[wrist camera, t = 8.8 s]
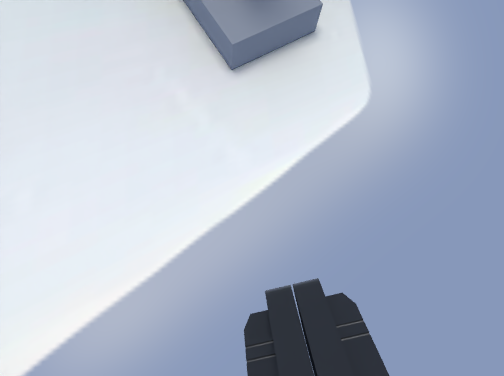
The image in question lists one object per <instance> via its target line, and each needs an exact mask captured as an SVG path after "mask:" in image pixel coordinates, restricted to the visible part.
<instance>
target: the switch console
mask: <svg viewBox="0 0 504 376" xmlns="http://www.w3.org/2000/svg"><path fill="white" fill-rule="evenodd" d="M184 2H185V3H186V4H187V6H188V7H189V9H190V10H191V12H192V13H193V15H194V16H195V17H196V19H197V20H198V22H199V23H200V25H201V26H202V28H203V29H204V30H205V32H206V33H207V35H208V36H209V38H210V39H211V41H212V42H213V43H214V45H215V46H216V48H217V49H218V51H219V52H220V54H221V55H222V56H223V58H224V59H225V61H226V62H227V64H228V65H229V67H230V68H231V69H235V68H237V67H239V66H241V65H243V64H245V63H247V62H249V61H252V60H254V59H256V58H258V57H260V56H262V55H264V54H267V53H269V52H271V51H273V50H275V49H277V48H279V47H282V46H284V45H286V44H288V43H290V42H292V41H294V40H296V39H299V38H301V37H303V36H305V35H307V34H309V33H311V32H314V31H315V29H316V25H317V22H318V19H319V15H320V12H321V8H322V5H323V3H322V2H321V1H320V0H184Z"/></svg>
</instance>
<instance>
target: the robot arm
mask: <svg viewBox="0 0 504 376" xmlns="http://www.w3.org/2000/svg"><path fill="white" fill-rule="evenodd" d="M293 288H294V292H295V297H296V302H297V306H298V310H299V315H300V319H301V323H300V319H299V316H298V312H297V308H296V304H295V300H294V296H293V292H292V289H291V285H288V286H284V287H279V288H275V289H271V290H266V291H265V294H266V299H267V306H268V310H266V311H262V312H257V313H253V314H250V316H249V319H248V322H247V324H246V326H245V329H244V335H245V347H246V360H247V372H248V376H314V375H315V376H389V374H388V372H387V370H386V368H385V366H384V363H383V361H382V359H381V357H380V355H379V353H378V350H377V348H376V346H375V344H374V342H373V340H372V338H371V335H370V334H369V331H368V329H367V327H366V325H365V323H364V321H363V318H362V316H361V314H360V312H359V310H358V307H357V305H356V304H355V303H354V302H353V301H352V300H351V299H349V298H348V297H347V296H346V295H344V294H343V293H339V294H335V295H331V296H326V297H325V295H324V292H323V289H322V286H321V284H320V281H319V279H313V280H309V281H305V282H300V283H297V284H293ZM301 324H302V327H301ZM302 328H303V331H302ZM303 332H304V335H303ZM304 336H305V339H304ZM305 340H306V342H305ZM306 344H307V346H306ZM307 348H308V350H307ZM308 352H309V354H308ZM309 356H310V358H309ZM310 360H311V362H310ZM311 364H312V365H311ZM312 367H313V369H312ZM313 371H314V373H313Z"/></svg>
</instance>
